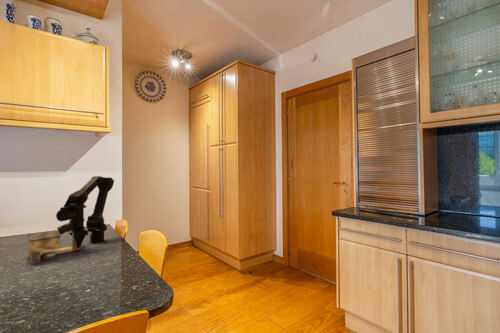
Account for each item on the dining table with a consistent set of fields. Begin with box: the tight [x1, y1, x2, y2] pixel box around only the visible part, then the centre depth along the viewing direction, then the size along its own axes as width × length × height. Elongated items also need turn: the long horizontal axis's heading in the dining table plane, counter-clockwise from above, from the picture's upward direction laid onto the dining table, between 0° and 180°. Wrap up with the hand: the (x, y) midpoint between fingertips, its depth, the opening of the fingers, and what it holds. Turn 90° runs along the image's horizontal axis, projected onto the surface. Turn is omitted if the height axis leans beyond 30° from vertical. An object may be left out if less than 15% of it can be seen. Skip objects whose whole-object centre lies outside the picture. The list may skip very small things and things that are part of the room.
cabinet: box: [27, 230, 62, 265], centre depth 122 cm, size 11×15×11 cm
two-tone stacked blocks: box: [40, 238, 83, 258], centre depth 129 cm, size 16×5×5 cm, turn 127°
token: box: [42, 249, 57, 260], centre depth 122 cm, size 5×5×2 cm
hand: (77, 246), depth 133 cm, fingers closed on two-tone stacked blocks, 4 cm apart
